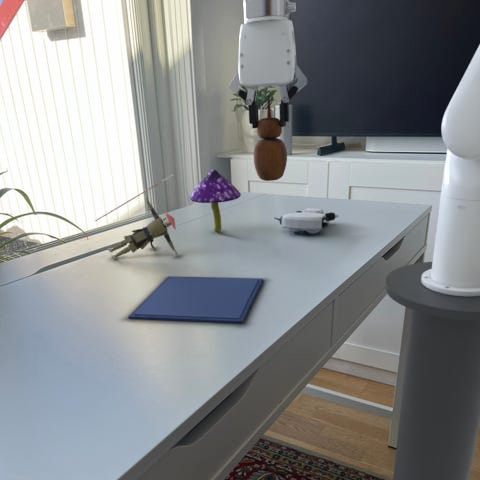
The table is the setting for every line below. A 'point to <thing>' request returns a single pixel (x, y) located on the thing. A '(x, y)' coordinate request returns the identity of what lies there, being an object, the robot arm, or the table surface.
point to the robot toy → (306, 220)
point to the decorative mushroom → (214, 194)
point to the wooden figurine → (270, 149)
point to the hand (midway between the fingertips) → (269, 126)
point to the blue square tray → (200, 300)
